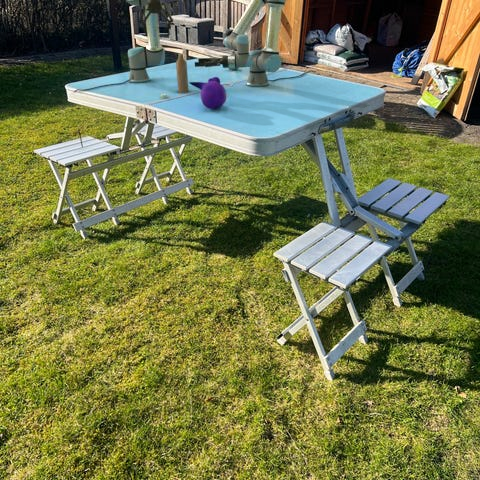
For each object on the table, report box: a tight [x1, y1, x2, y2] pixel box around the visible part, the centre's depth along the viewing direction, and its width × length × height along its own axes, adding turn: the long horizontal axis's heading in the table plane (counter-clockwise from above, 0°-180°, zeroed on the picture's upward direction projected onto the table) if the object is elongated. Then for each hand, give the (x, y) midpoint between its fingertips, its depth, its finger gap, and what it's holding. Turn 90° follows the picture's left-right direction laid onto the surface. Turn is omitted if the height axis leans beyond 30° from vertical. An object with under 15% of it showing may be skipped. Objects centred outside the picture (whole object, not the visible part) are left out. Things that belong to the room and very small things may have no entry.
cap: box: [160, 93, 168, 99], centre depth 290 cm, size 4×4×2 cm
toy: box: [188, 76, 227, 111], centre depth 263 cm, size 16×18×27 cm
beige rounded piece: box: [227, 50, 239, 71], centre depth 368 cm, size 21×12×15 cm, turn 120°
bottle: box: [175, 53, 190, 94], centre depth 299 cm, size 7×7×24 cm
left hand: (157, 35), depth 272 cm, fingers open, 13 cm apart
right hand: (196, 62), depth 295 cm, fingers open, 13 cm apart
